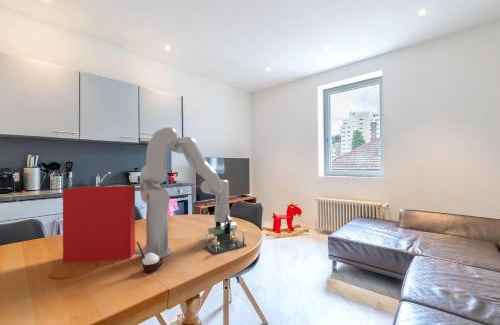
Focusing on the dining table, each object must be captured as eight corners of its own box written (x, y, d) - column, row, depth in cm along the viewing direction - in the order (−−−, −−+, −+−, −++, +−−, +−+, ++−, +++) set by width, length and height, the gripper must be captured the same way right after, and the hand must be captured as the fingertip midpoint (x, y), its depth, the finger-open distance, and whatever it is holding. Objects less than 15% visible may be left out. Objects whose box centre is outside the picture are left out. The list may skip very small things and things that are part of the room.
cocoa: (163, 267, 95) (164, 237, 96) (160, 273, 89) (161, 242, 90) (138, 268, 93) (140, 238, 94) (133, 275, 87) (135, 242, 88)
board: (214, 235, 124) (214, 230, 124) (208, 232, 129) (208, 227, 129) (236, 230, 132) (236, 225, 132) (229, 227, 138) (229, 223, 138)
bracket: (216, 231, 145) (216, 219, 145) (215, 228, 151) (215, 217, 152) (236, 230, 147) (236, 218, 147) (235, 227, 154) (235, 216, 154)
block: (218, 240, 127) (218, 233, 127) (214, 238, 130) (214, 231, 130) (230, 237, 132) (230, 230, 132) (226, 236, 135) (226, 229, 135)
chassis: (215, 254, 107) (214, 237, 107) (204, 247, 116) (204, 232, 116) (246, 246, 118) (246, 230, 118) (234, 240, 127) (234, 225, 127)
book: (62, 262, 100) (62, 188, 100) (74, 255, 107) (74, 186, 108) (129, 259, 103) (129, 187, 103) (136, 252, 111) (135, 185, 111)
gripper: (209, 200, 136) (209, 229, 135) (224, 204, 122) (225, 236, 122) (220, 199, 140) (220, 227, 140) (236, 202, 126) (236, 233, 126)
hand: (222, 231), depth 131 cm, fingers open, 9 cm apart
